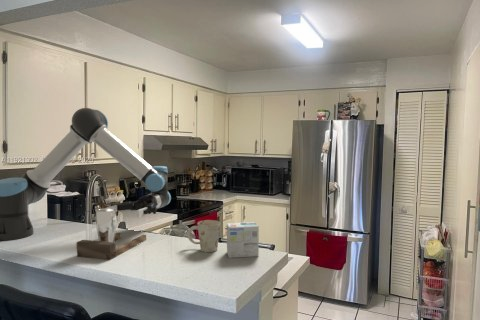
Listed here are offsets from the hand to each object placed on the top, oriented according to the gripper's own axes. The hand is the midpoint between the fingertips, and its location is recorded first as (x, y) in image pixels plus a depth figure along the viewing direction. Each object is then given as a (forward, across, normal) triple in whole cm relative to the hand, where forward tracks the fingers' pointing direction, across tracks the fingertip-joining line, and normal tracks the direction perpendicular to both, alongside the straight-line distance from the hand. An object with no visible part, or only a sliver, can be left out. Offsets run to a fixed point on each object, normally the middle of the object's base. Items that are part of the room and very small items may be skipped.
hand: (122, 212), depth 136 cm
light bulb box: (0, -48, -12) cm, 49 cm away
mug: (-1, -33, -12) cm, 35 cm away
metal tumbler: (+10, 0, -12) cm, 16 cm away
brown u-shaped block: (+5, 0, -12) cm, 13 cm away
